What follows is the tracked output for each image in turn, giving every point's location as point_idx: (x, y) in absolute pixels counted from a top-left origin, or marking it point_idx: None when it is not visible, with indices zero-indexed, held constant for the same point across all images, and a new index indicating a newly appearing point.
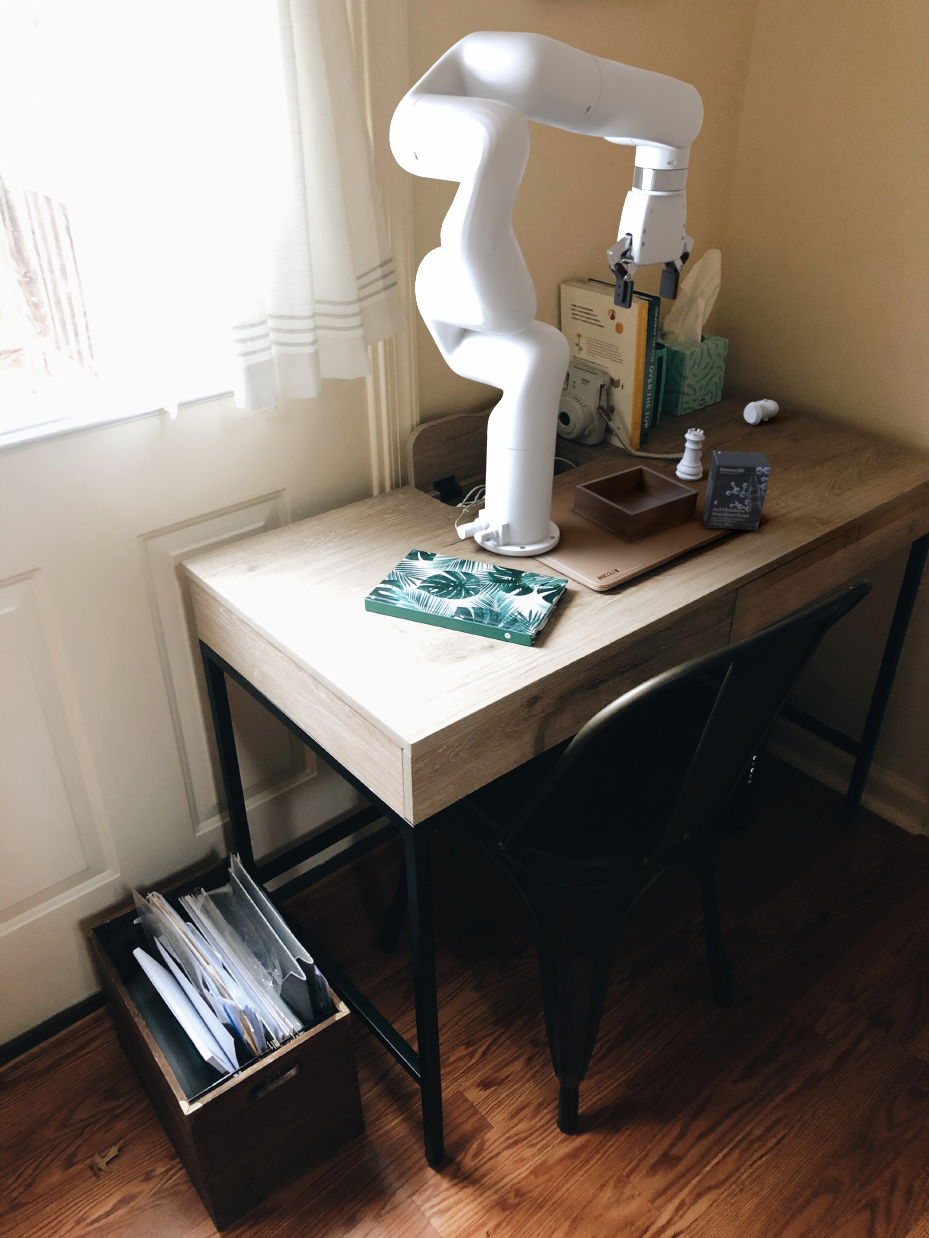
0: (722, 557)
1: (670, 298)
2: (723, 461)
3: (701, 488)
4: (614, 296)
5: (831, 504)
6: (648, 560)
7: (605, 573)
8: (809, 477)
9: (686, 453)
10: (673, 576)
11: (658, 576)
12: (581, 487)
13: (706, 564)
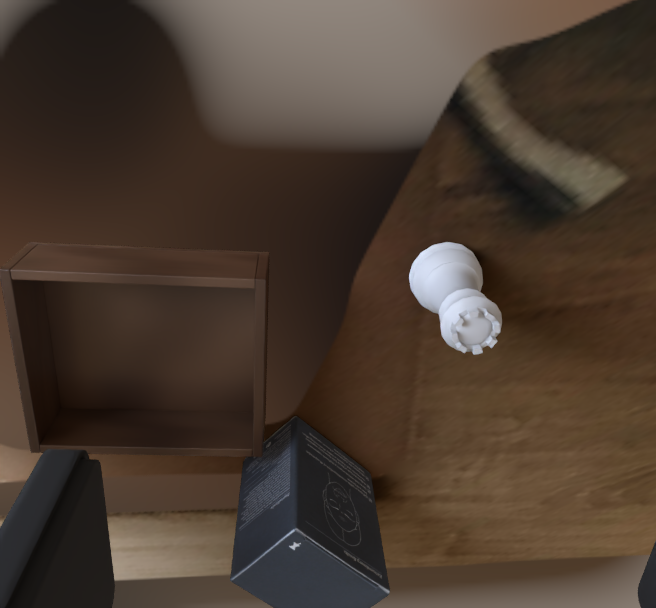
0: (178, 535)
1: (643, 581)
2: (254, 580)
3: (405, 334)
4: (19, 497)
5: (544, 520)
6: None
7: None
8: (648, 431)
9: (439, 297)
10: None
11: None
12: (6, 287)
13: (131, 536)
